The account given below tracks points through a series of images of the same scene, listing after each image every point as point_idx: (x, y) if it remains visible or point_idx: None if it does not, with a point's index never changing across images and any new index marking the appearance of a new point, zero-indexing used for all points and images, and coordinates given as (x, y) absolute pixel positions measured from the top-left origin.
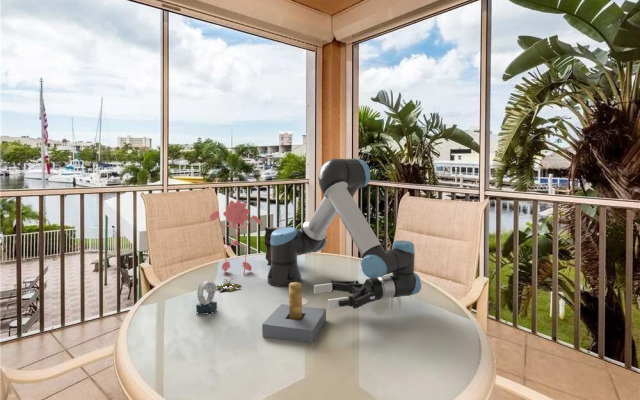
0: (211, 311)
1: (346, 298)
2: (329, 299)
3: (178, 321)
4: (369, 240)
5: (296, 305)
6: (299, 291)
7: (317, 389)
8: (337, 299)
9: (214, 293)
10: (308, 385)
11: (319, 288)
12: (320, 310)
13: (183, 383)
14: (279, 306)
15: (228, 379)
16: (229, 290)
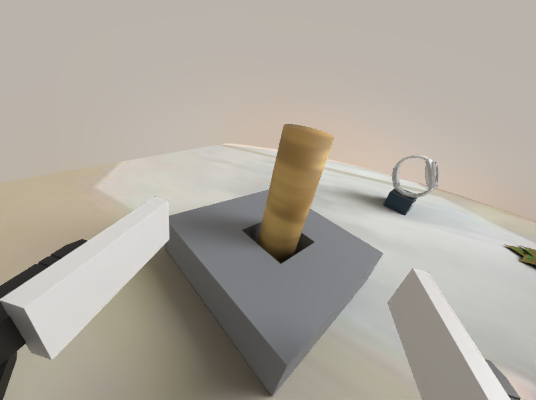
0: (388, 202)
1: (23, 289)
2: (158, 203)
3: (364, 184)
4: None
5: (268, 192)
6: (279, 150)
7: (47, 180)
8: (109, 229)
9: (429, 192)
10: (73, 180)
11: (416, 314)
12: (280, 323)
13: (221, 151)
14: (363, 242)
15: (194, 160)
16: (526, 259)
